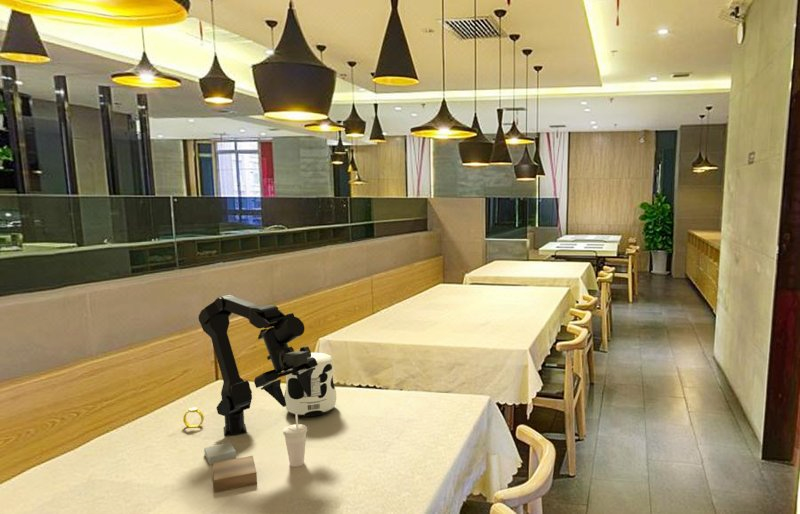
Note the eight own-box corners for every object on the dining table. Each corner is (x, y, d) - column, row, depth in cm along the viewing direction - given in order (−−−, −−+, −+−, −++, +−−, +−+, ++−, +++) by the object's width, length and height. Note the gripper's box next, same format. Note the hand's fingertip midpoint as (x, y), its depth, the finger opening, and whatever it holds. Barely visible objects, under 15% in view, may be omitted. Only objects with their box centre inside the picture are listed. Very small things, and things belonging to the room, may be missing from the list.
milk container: (311, 398, 196) (308, 349, 195) (347, 407, 186) (345, 355, 184) (273, 414, 182) (271, 361, 181) (311, 424, 172) (308, 368, 170)
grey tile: (204, 454, 153) (204, 447, 152) (230, 448, 156) (229, 441, 156) (209, 464, 147) (209, 457, 146) (236, 458, 150) (235, 451, 150)
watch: (204, 425, 175) (204, 407, 174) (201, 429, 172) (201, 410, 171) (185, 424, 175) (185, 406, 174) (182, 428, 172) (182, 410, 171)
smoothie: (303, 470, 142) (301, 417, 141) (280, 468, 143) (278, 416, 142) (312, 458, 148) (310, 408, 147) (290, 457, 149) (287, 407, 148)
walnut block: (213, 473, 141) (212, 462, 141) (253, 466, 145) (252, 455, 144) (214, 492, 132) (213, 480, 132) (257, 483, 135) (256, 472, 135)
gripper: (268, 346, 141) (289, 403, 138) (319, 331, 156) (339, 383, 153) (244, 359, 148) (264, 414, 145) (296, 344, 163) (315, 394, 160)
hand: (297, 401), depth 150 cm, fingers open, 9 cm apart
